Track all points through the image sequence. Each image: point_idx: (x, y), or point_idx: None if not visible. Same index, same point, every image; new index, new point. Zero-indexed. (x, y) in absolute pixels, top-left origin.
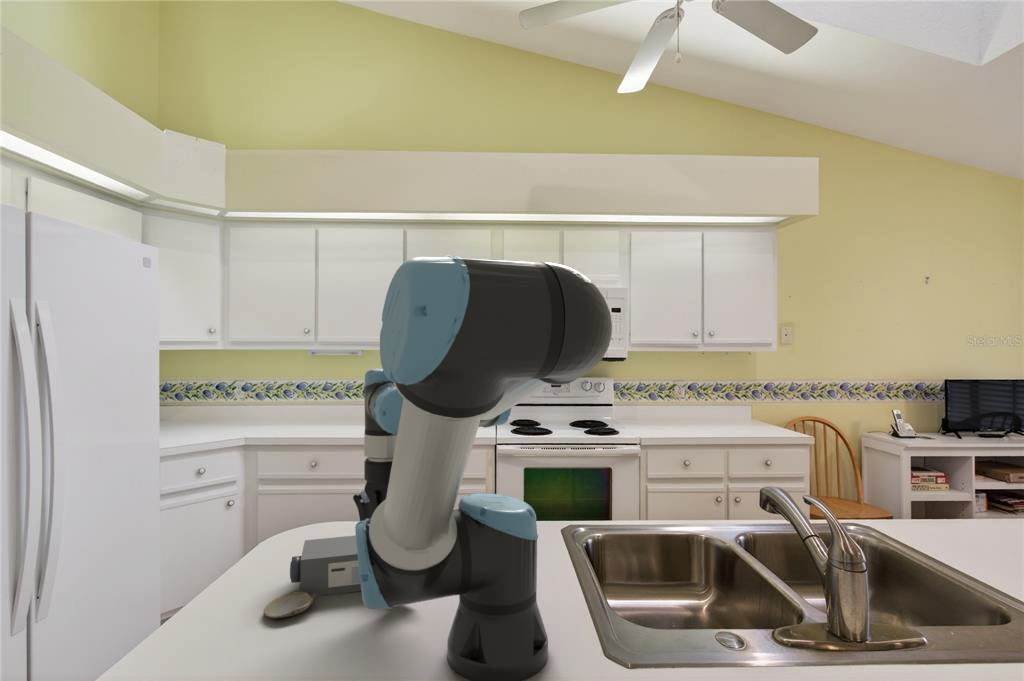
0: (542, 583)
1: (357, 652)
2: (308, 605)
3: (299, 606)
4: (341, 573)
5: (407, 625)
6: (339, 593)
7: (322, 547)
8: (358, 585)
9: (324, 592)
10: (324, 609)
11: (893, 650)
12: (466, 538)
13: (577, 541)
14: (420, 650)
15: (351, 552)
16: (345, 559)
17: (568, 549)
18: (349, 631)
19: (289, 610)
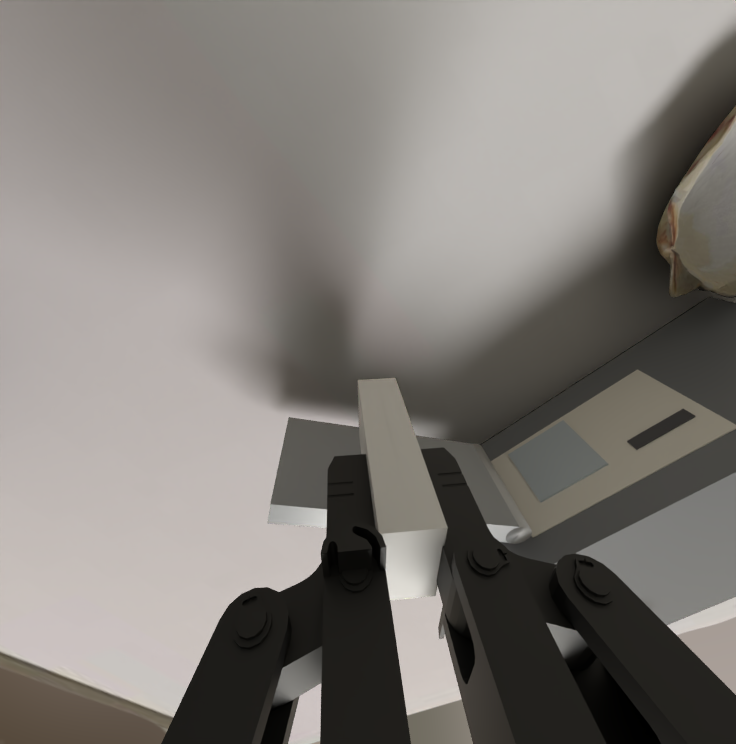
0: (83, 627)
1: (233, 6)
2: (666, 219)
3: (695, 238)
4: (630, 426)
5: (220, 317)
6: (581, 380)
7: None
8: (536, 428)
9: (637, 354)
10: (585, 273)
11: None
12: None
13: None
14: (6, 176)
15: (665, 525)
16: (667, 479)
17: (166, 716)
18: (396, 171)
19: (725, 201)
